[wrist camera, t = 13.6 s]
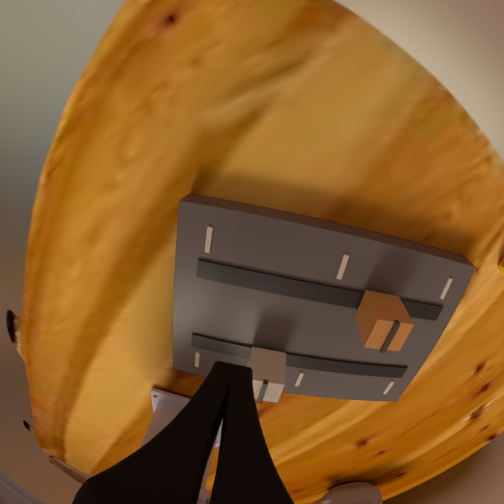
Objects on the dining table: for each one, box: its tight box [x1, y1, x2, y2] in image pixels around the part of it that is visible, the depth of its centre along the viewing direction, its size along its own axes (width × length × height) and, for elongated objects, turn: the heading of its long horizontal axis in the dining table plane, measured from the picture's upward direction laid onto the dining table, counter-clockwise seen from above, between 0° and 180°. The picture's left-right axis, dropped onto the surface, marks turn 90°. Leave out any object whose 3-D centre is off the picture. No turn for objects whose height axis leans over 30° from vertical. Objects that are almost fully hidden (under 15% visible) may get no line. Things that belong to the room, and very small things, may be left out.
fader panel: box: [173, 194, 476, 401], centre depth 19 cm, size 14×20×2 cm
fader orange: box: [355, 290, 414, 353], centre depth 15 cm, size 2×2×3 cm
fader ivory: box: [247, 347, 286, 403], centre depth 18 cm, size 2×2×3 cm
